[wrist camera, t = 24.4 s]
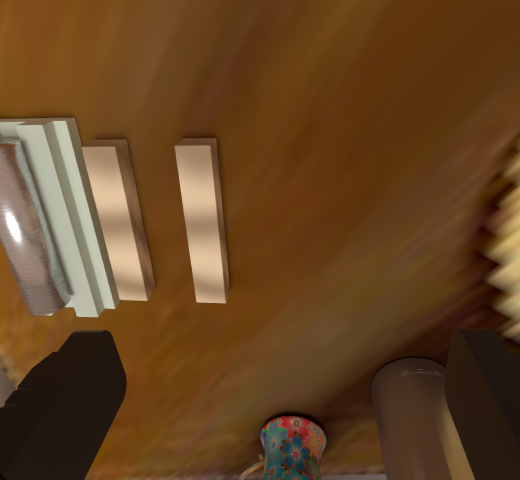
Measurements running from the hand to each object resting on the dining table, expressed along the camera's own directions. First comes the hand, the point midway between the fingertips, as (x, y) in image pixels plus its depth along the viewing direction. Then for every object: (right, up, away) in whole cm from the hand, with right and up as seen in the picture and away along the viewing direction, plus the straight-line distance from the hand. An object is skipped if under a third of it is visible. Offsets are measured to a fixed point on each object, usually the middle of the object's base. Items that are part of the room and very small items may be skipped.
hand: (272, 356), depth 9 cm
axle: (-22, +4, +27) cm, 35 cm away
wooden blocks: (-9, +5, +30) cm, 31 cm away
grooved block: (-21, +5, +31) cm, 38 cm away
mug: (+3, -23, +43) cm, 49 cm away
